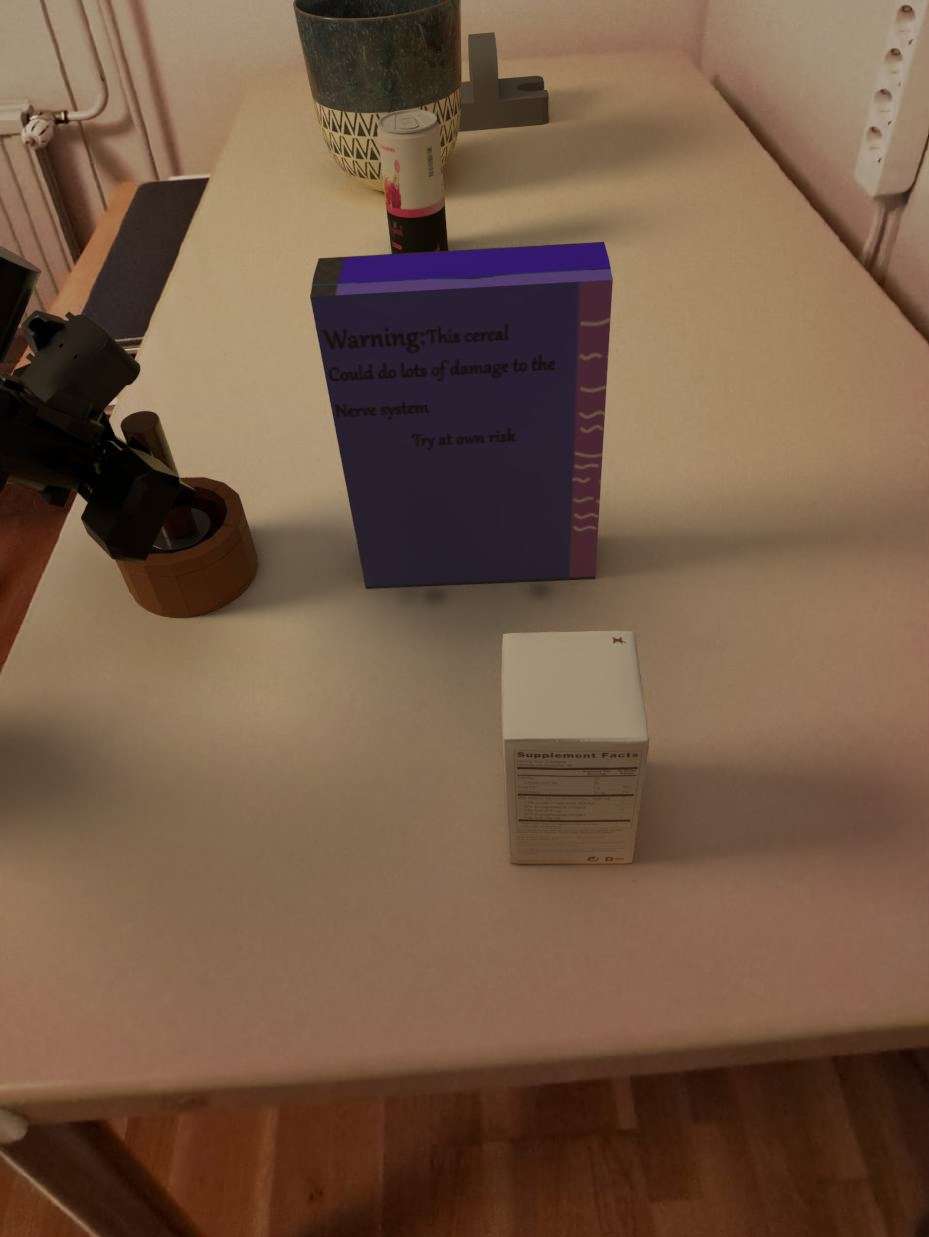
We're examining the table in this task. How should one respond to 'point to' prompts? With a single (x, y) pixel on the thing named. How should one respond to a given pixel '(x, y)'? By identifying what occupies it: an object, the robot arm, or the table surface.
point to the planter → (380, 72)
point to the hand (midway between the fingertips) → (183, 487)
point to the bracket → (498, 92)
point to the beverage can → (413, 181)
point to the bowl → (199, 560)
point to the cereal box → (469, 409)
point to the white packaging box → (572, 746)
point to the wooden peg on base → (182, 522)
